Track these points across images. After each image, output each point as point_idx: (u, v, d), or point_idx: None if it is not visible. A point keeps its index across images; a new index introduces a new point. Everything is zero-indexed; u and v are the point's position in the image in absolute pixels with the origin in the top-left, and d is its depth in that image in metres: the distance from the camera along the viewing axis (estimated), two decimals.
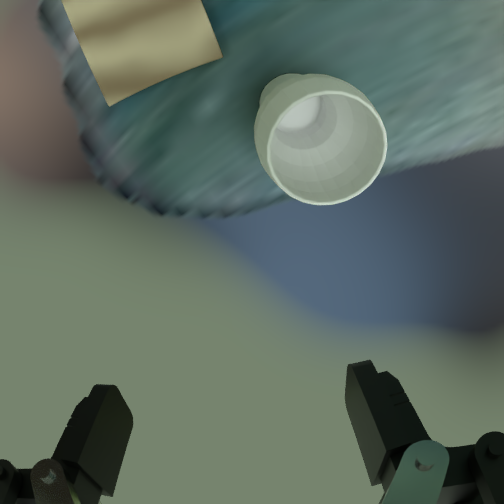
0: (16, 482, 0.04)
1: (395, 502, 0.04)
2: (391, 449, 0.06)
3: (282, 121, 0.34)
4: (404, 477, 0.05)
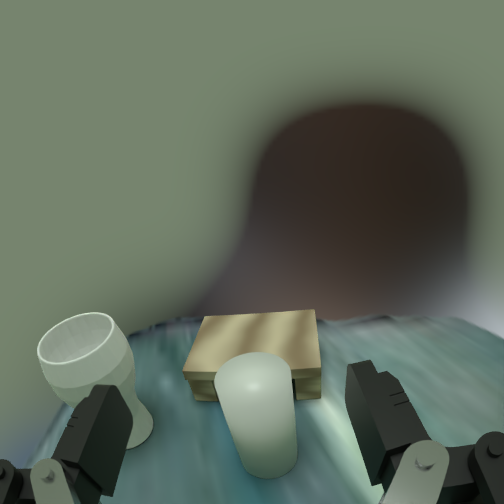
0: (16, 482, 0.04)
1: (395, 502, 0.04)
2: (391, 449, 0.06)
3: None
4: (404, 477, 0.05)
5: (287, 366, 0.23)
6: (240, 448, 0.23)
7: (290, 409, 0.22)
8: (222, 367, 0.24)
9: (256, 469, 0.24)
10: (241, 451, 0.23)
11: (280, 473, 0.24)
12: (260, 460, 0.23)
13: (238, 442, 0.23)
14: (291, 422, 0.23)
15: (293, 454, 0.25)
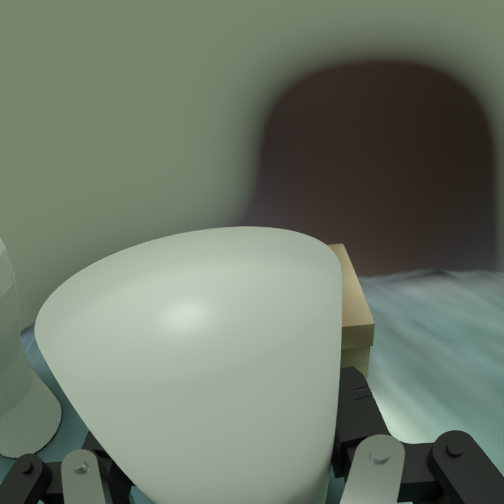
0: (44, 476, 0.05)
1: (354, 498, 0.04)
2: (347, 441, 0.06)
3: None
4: (356, 469, 0.05)
5: (319, 244, 0.06)
6: None
7: (332, 422, 0.05)
8: (103, 260, 0.07)
9: None
10: None
11: None
12: None
13: None
14: (326, 464, 0.06)
15: None
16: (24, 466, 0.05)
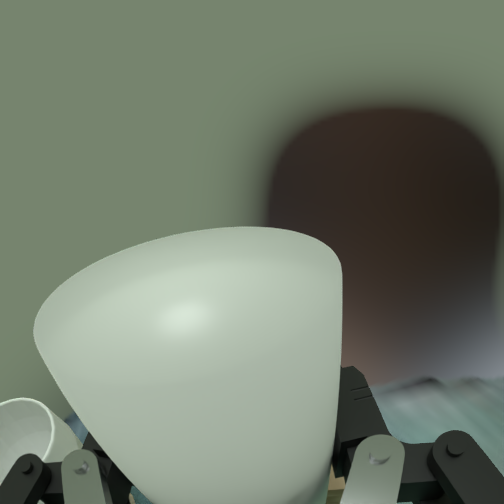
0: (44, 476, 0.05)
1: (354, 498, 0.04)
2: (347, 441, 0.06)
3: None
4: (356, 469, 0.05)
5: (319, 244, 0.06)
6: None
7: (331, 423, 0.05)
8: (102, 261, 0.07)
9: None
10: None
11: None
12: None
13: None
14: (327, 465, 0.06)
15: None
16: (24, 466, 0.05)
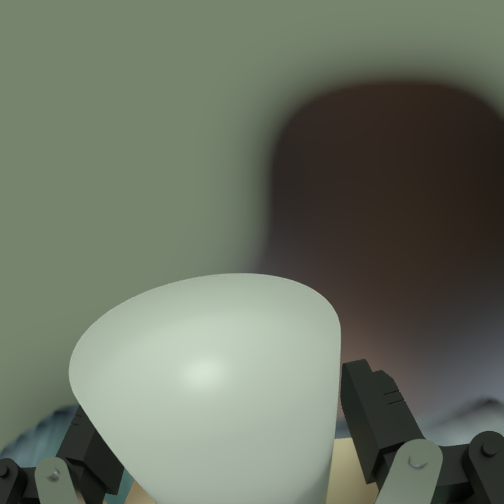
0: (20, 481, 0.05)
1: (389, 501, 0.04)
2: (385, 448, 0.06)
3: None
4: (397, 476, 0.05)
5: (322, 301, 0.07)
6: None
7: (329, 451, 0.06)
8: (122, 306, 0.08)
9: None
10: None
11: None
12: None
13: None
14: (324, 483, 0.06)
15: None
16: (1, 470, 0.04)
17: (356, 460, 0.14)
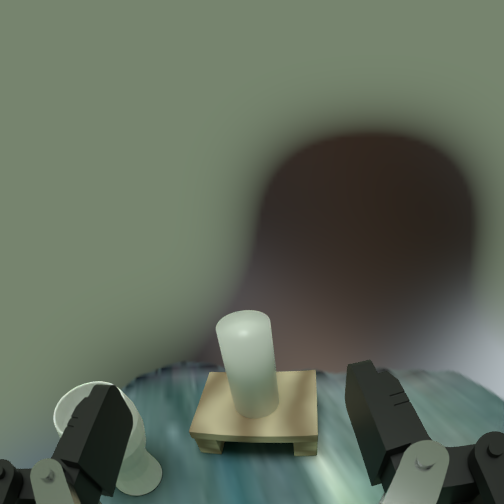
0: (16, 482, 0.04)
1: (395, 502, 0.04)
2: (391, 449, 0.06)
3: None
4: (404, 477, 0.05)
5: (268, 318, 0.34)
6: (233, 386, 0.34)
7: (270, 351, 0.33)
8: (222, 319, 0.35)
9: (245, 407, 0.34)
10: (234, 389, 0.34)
11: (264, 414, 0.35)
12: (248, 397, 0.33)
13: (232, 379, 0.33)
14: (271, 364, 0.33)
15: (274, 396, 0.35)
16: None
17: (295, 379, 0.41)
